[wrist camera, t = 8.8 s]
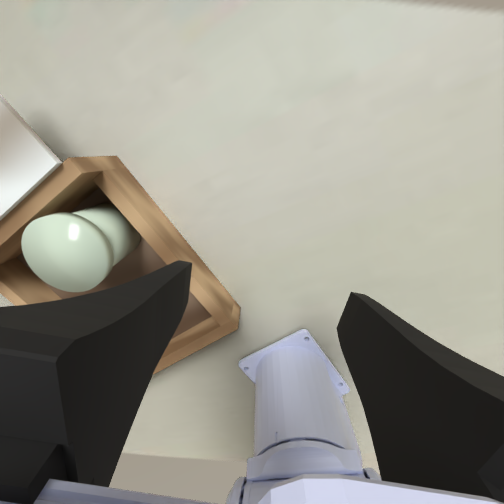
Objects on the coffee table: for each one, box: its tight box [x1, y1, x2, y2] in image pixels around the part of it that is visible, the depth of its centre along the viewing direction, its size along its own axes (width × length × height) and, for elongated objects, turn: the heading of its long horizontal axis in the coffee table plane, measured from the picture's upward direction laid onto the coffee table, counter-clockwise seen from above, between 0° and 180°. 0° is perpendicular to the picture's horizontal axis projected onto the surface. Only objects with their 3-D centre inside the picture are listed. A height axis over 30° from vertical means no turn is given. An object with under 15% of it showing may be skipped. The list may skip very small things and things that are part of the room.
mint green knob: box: [21, 203, 141, 292], centre depth 18 cm, size 5×5×6 cm
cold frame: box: [0, 94, 240, 374], centre depth 19 cm, size 24×14×5 cm, turn 34°
